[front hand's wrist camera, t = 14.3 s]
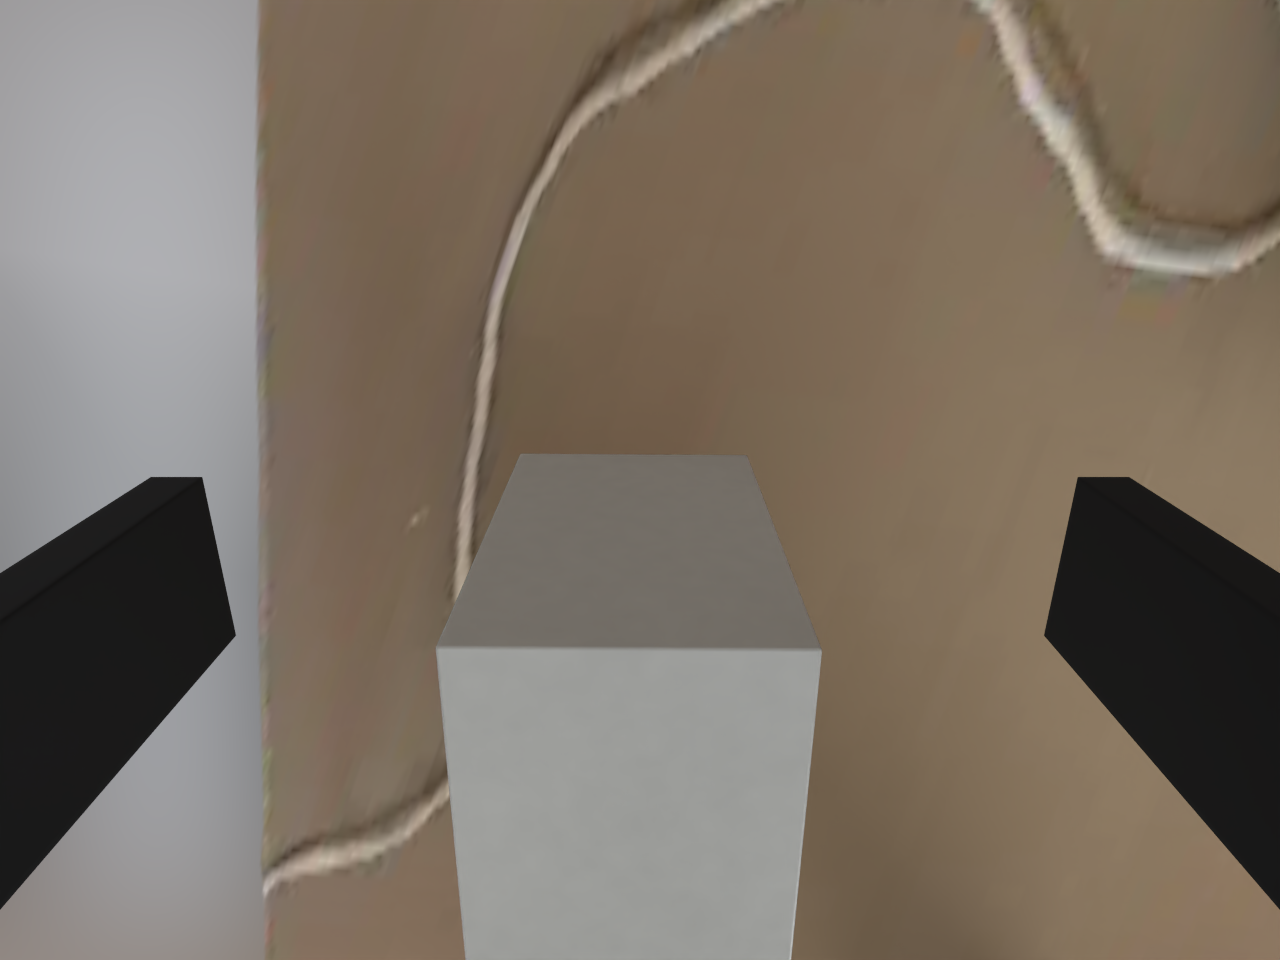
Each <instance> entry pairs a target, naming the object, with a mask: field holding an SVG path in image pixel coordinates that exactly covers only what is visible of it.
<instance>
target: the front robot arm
mask: <svg viewBox="0 0 1280 960" xmlns="http://www.w3.org/2000/svg"><path fill="white" fill-rule="evenodd" d="M235 636H236V634H235V629H234V624H233V620H232V615H231V610H230V606H229V601H228V596H227V592H226V587H225V582H224V578H223V573H222V568H221V563H220V559H219V554H218V550H217V545H216V540H215V535H214V531H213V526H212V521H211V516H210V512H209V507H208V502H207V498H206V493H205V488H204V484H203V479H202V477H150V478H149V479H147V480H146V481H144V482H143V483H141V484H139V485H138V486H136V487H135V488H133V489H132V490H130V491H129V492H127V493H125V494H124V495H122V496H121V497H119V498H118V499H116V500H114V501H113V502H111V503H110V504H108V505H107V506H105V507H103V508H102V509H100V510H99V511H97V512H96V513H94V514H92V515H91V516H89V517H88V518H86V519H85V520H83V521H81V522H80V523H78V524H77V525H75V526H74V527H72V528H71V529H69V530H67V531H66V532H64V533H63V534H61V535H60V536H58V537H56V538H55V539H53V540H52V541H50V542H49V543H47V544H45V545H44V546H42V547H41V548H39V549H38V550H36V551H34V552H33V553H31V554H30V555H28V556H27V557H25V558H23V559H22V560H20V561H19V562H17V563H16V564H14V565H12V566H11V567H9V568H8V569H6V570H5V571H3V572H2V573H0V909H1V908H2V907H3V906H4V905H5V903H6V902H7V901H8V900H9V899H10V898H11V896H12V895H13V894H14V893H15V892H16V890H17V889H18V888H19V887H20V886H21V885H22V884H23V882H24V881H25V880H26V879H27V878H28V877H29V875H30V874H31V873H32V872H33V871H34V870H35V868H36V867H37V866H38V865H39V864H40V863H41V861H42V860H43V859H44V858H45V857H46V856H47V855H48V853H49V852H50V851H51V850H52V849H53V848H54V846H55V845H56V844H57V843H58V842H59V841H60V839H61V838H62V837H63V836H64V835H65V834H66V832H67V831H68V830H69V829H70V828H71V827H72V825H73V824H74V823H75V822H76V821H77V820H78V818H79V817H80V816H81V815H82V814H83V813H84V811H85V810H86V809H87V808H88V807H89V806H90V805H91V803H92V802H93V801H94V800H95V799H96V797H97V796H98V795H99V794H100V793H101V792H102V791H103V789H104V788H105V787H106V786H107V785H108V784H109V782H110V781H111V780H112V779H113V778H114V777H115V775H116V774H117V773H118V772H119V771H120V770H121V768H122V767H123V766H124V765H125V764H126V763H127V761H128V760H129V759H130V758H131V757H132V756H133V755H134V753H135V752H136V751H137V750H138V749H139V747H140V746H141V745H142V744H143V743H144V742H145V740H146V739H147V738H148V737H149V736H150V735H151V734H152V732H153V731H154V730H155V729H156V728H157V727H158V725H159V724H160V723H161V722H162V721H163V720H164V718H165V717H166V716H167V715H168V714H169V713H170V711H171V710H172V709H173V708H174V707H175V706H176V704H177V703H178V702H179V701H180V700H181V699H182V698H183V696H184V695H185V694H186V693H187V692H188V691H189V689H190V688H191V687H192V686H193V685H194V683H195V682H196V681H197V680H198V679H199V678H200V677H201V675H202V674H203V673H204V672H205V671H206V670H207V668H208V667H209V666H210V665H211V664H212V663H213V661H214V660H215V659H216V658H217V657H218V656H219V654H220V653H221V652H222V651H223V650H224V649H225V647H226V646H227V645H228V644H229V643H230V642H231V640H232V639H233V638H234V637H235ZM1044 636H1045V637H1046V638H1047V639H1048V641H1049V642H1050V643H1051V644H1052V645H1053V646H1054V648H1055V649H1056V650H1057V651H1058V652H1059V653H1060V654H1061V656H1062V657H1063V658H1064V659H1065V660H1066V661H1067V663H1068V664H1069V665H1070V666H1071V667H1072V668H1073V670H1074V671H1075V672H1076V673H1077V674H1078V675H1079V677H1080V678H1081V679H1082V680H1083V681H1084V682H1085V684H1086V685H1087V686H1088V687H1089V688H1090V689H1091V691H1092V692H1093V693H1094V694H1095V695H1096V696H1097V698H1098V699H1099V700H1100V701H1101V702H1102V703H1103V704H1104V706H1105V707H1106V708H1107V709H1108V710H1109V711H1110V713H1111V714H1112V715H1113V716H1114V717H1115V718H1116V720H1117V721H1118V722H1119V723H1120V724H1121V725H1122V727H1123V728H1124V729H1125V730H1126V731H1127V732H1128V734H1129V735H1130V736H1131V737H1132V738H1133V739H1134V741H1135V742H1136V743H1137V744H1138V745H1139V746H1140V748H1141V749H1142V750H1143V751H1144V752H1145V753H1146V755H1147V756H1148V757H1149V758H1150V759H1151V760H1152V761H1153V763H1154V764H1155V765H1156V766H1157V767H1158V768H1159V770H1160V771H1161V772H1162V773H1163V774H1164V775H1165V777H1166V778H1167V779H1168V780H1169V781H1170V782H1171V784H1172V785H1173V786H1174V787H1175V788H1176V789H1177V791H1178V792H1179V793H1180V794H1181V795H1182V796H1183V798H1184V799H1185V800H1186V801H1187V802H1188V803H1189V805H1190V806H1191V807H1192V808H1193V809H1194V810H1195V811H1196V813H1197V814H1198V815H1199V816H1200V817H1201V818H1202V820H1203V821H1204V822H1205V823H1206V824H1207V825H1208V827H1209V828H1210V829H1211V830H1212V831H1213V832H1214V834H1215V835H1216V836H1217V837H1218V838H1219V839H1220V841H1221V842H1222V843H1223V844H1224V845H1225V846H1226V848H1227V849H1228V850H1229V851H1230V852H1231V853H1232V855H1233V856H1234V857H1235V858H1236V859H1237V860H1238V861H1239V863H1240V864H1241V865H1242V866H1243V867H1244V868H1245V870H1246V871H1247V872H1248V873H1249V874H1250V875H1251V877H1252V878H1253V879H1254V880H1255V881H1256V882H1257V884H1258V885H1259V886H1260V887H1261V888H1262V889H1263V891H1264V892H1265V893H1266V894H1267V895H1268V896H1269V898H1270V899H1271V900H1272V901H1273V902H1274V903H1275V905H1276V906H1277V907H1278V908H1279V909H1280V573H1279V572H1277V571H1275V570H1274V569H1272V568H1271V567H1269V566H1268V565H1266V564H1264V563H1263V562H1261V561H1260V560H1258V559H1257V558H1255V557H1253V556H1252V555H1250V554H1249V553H1247V552H1246V551H1244V550H1242V549H1241V548H1239V547H1238V546H1236V545H1235V544H1233V543H1231V542H1230V541H1228V540H1227V539H1225V538H1224V537H1222V536H1221V535H1219V534H1217V533H1216V532H1214V531H1213V530H1211V529H1210V528H1208V527H1206V526H1205V525H1203V524H1202V523H1200V522H1199V521H1197V520H1195V519H1194V518H1192V517H1191V516H1189V515H1188V514H1186V513H1184V512H1183V511H1181V510H1180V509H1178V508H1177V507H1175V506H1173V505H1172V504H1170V503H1169V502H1167V501H1166V500H1164V499H1162V498H1161V497H1159V496H1158V495H1156V494H1155V493H1153V492H1151V491H1150V490H1148V489H1147V488H1145V487H1144V486H1142V485H1141V484H1139V483H1137V482H1136V481H1134V480H1133V479H1131V478H1130V477H1078V479H1077V484H1076V488H1075V493H1074V498H1073V502H1072V507H1071V512H1070V517H1069V521H1068V526H1067V531H1066V535H1065V540H1064V545H1063V549H1062V554H1061V559H1060V563H1059V568H1058V573H1057V578H1056V582H1055V587H1054V592H1053V596H1052V601H1051V606H1050V610H1049V615H1048V620H1047V624H1046V629H1045V634H1044Z"/></svg>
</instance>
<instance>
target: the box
mask: <svg viewBox="0 0 1280 960" xmlns="http://www.w3.org/2000/svg"><path fill="white" fill-rule="evenodd" d="M821 655H822V649H821V647H820V644H819V641H818V639H817V636H816V634H815V631H814V628H813V626H812V623H811V621H810V618H809V615H808V613H807V610H806V608H805V605H804V602H803V600H802V597H801V595H800V592H799V589H798V587H797V584H796V582H795V579H794V576H793V574H792V571H791V569H790V566H789V563H788V561H787V558H786V556H785V553H784V550H783V548H782V545H781V543H780V540H779V537H778V535H777V532H776V530H775V527H774V524H773V522H772V519H771V517H770V514H769V511H768V509H767V506H766V504H765V501H764V498H763V496H762V493H761V491H760V488H759V485H758V483H757V480H756V478H755V475H754V472H753V470H752V467H751V465H750V462H749V459H748V457H747V456H746V455H644V454H520V456H519V458H518V460H517V463H516V465H515V467H514V470H513V472H512V474H511V476H510V479H509V481H508V483H507V486H506V488H505V490H504V493H503V495H502V497H501V499H500V502H499V504H498V506H497V509H496V511H495V513H494V515H493V518H492V520H491V522H490V525H489V527H488V529H487V531H486V534H485V536H484V538H483V541H482V543H481V545H480V548H479V550H478V552H477V554H476V557H475V559H474V561H473V564H472V566H471V568H470V570H469V573H468V575H467V577H466V580H465V582H464V584H463V586H462V589H461V591H460V593H459V596H458V598H457V600H456V603H455V605H454V607H453V609H452V612H451V614H450V616H449V619H448V621H447V623H446V625H445V628H444V630H443V632H442V635H441V637H440V639H439V641H438V644H437V646H436V657H437V667H438V677H439V688H440V698H441V709H442V719H443V730H444V740H445V750H446V761H447V771H448V782H449V792H450V802H451V813H452V823H453V834H454V844H455V854H456V865H457V875H458V886H459V896H460V906H461V917H462V927H463V938H464V948H465V958H466V960H791V956H792V946H793V935H794V925H795V915H796V905H797V895H798V885H799V875H800V865H801V855H802V845H803V835H804V825H805V815H806V805H807V795H808V785H809V775H810V765H811V755H812V745H813V735H814V725H815V715H816V705H817V695H818V685H819V675H820V665H821Z"/></svg>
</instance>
